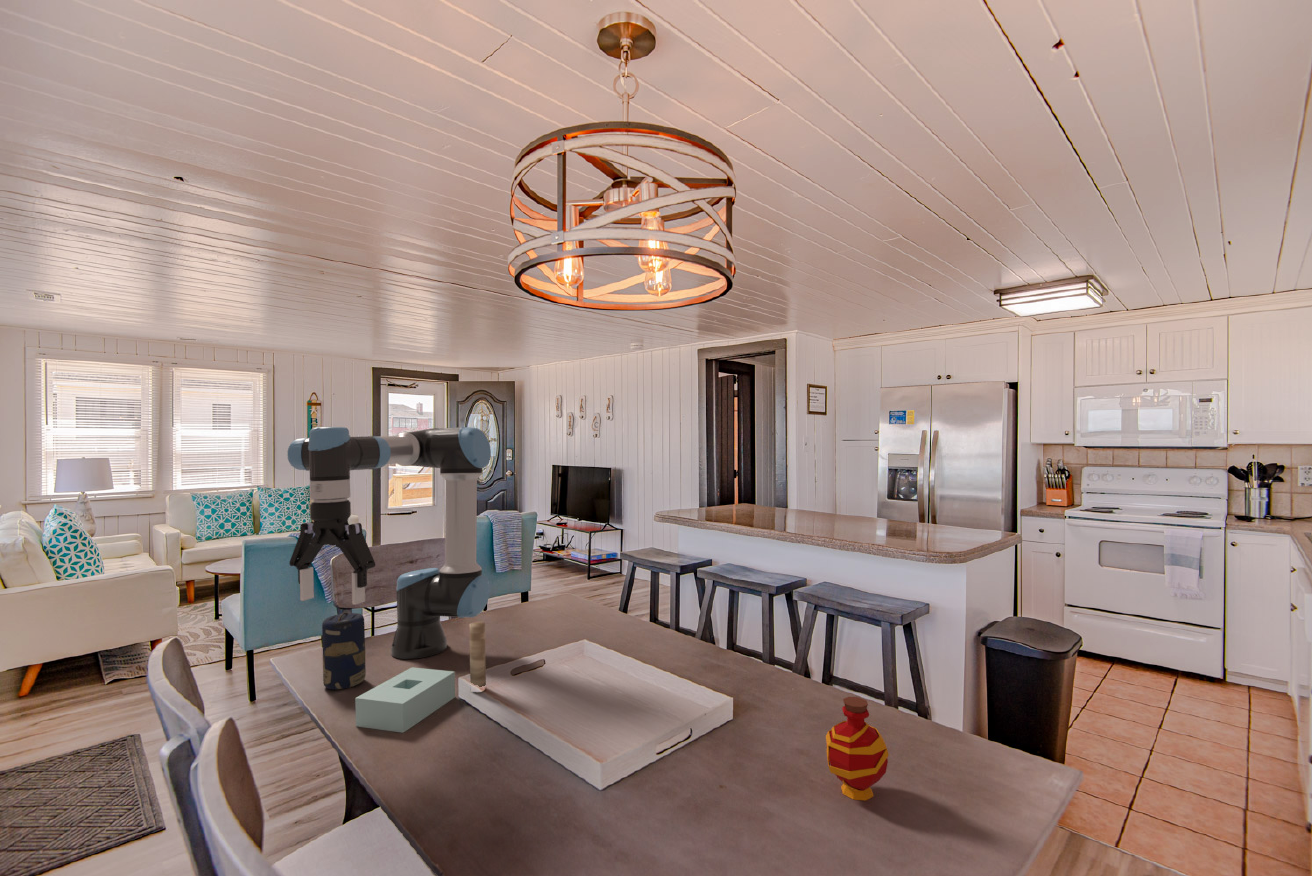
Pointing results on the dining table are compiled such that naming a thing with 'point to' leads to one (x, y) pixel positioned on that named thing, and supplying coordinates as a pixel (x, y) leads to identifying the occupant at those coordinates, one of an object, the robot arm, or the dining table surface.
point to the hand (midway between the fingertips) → (332, 601)
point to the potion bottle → (856, 751)
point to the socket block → (405, 699)
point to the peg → (477, 654)
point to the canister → (343, 650)
